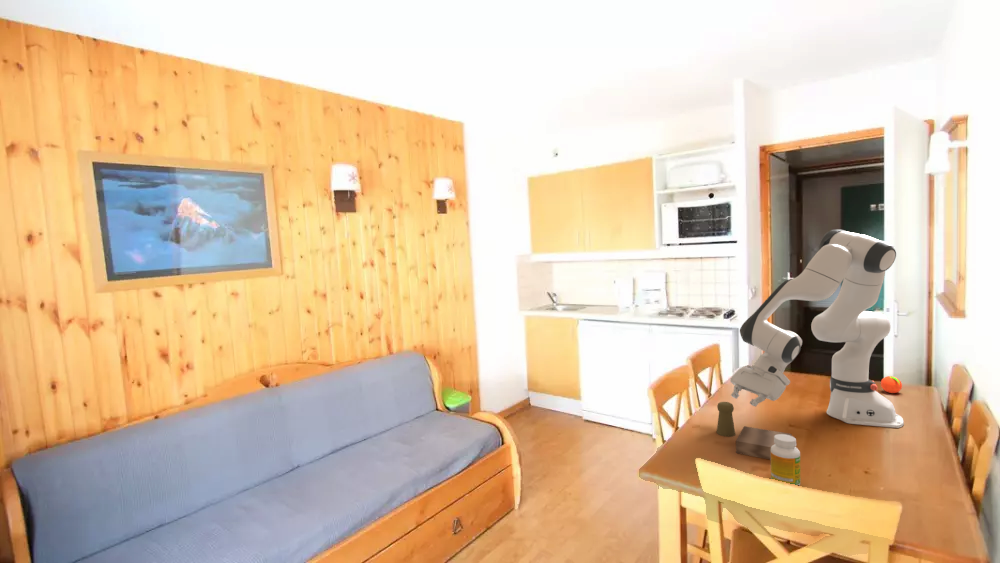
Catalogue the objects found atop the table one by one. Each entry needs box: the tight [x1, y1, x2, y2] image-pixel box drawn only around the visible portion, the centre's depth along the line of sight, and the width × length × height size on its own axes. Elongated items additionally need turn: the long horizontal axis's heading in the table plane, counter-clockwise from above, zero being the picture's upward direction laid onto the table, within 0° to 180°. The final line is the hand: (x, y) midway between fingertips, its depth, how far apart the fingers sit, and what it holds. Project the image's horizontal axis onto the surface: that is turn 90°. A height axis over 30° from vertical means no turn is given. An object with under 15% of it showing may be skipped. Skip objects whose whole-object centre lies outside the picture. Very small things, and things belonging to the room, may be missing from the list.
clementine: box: [880, 375, 903, 394], centre depth 200 cm, size 8×7×7 cm
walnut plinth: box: [735, 426, 793, 461], centre depth 155 cm, size 14×14×4 cm
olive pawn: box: [716, 401, 736, 438], centre depth 169 cm, size 6×6×11 cm
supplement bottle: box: [770, 434, 801, 486], centre depth 134 cm, size 7×7×13 cm
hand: (742, 400), depth 169 cm, fingers open, 8 cm apart
